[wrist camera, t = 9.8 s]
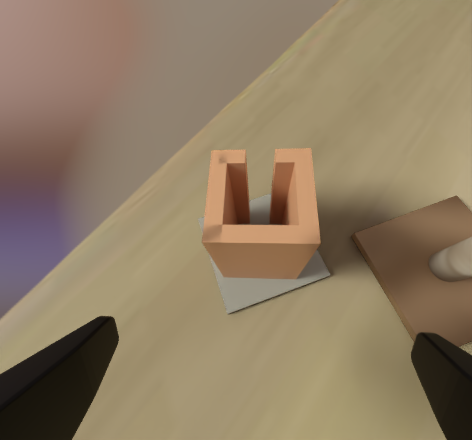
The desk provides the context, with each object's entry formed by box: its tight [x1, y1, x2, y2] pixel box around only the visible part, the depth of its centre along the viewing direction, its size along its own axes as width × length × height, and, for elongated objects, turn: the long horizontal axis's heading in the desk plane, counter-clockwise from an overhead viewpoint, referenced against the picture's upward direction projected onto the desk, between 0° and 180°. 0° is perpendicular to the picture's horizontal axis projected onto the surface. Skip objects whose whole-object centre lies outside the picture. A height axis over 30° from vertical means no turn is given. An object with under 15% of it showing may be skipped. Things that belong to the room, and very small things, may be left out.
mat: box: [198, 193, 330, 314], centre depth 22 cm, size 9×9×1 cm
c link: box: [202, 148, 321, 279], centre depth 18 cm, size 6×6×9 cm
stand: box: [351, 196, 472, 347], centre depth 18 cm, size 10×10×5 cm
